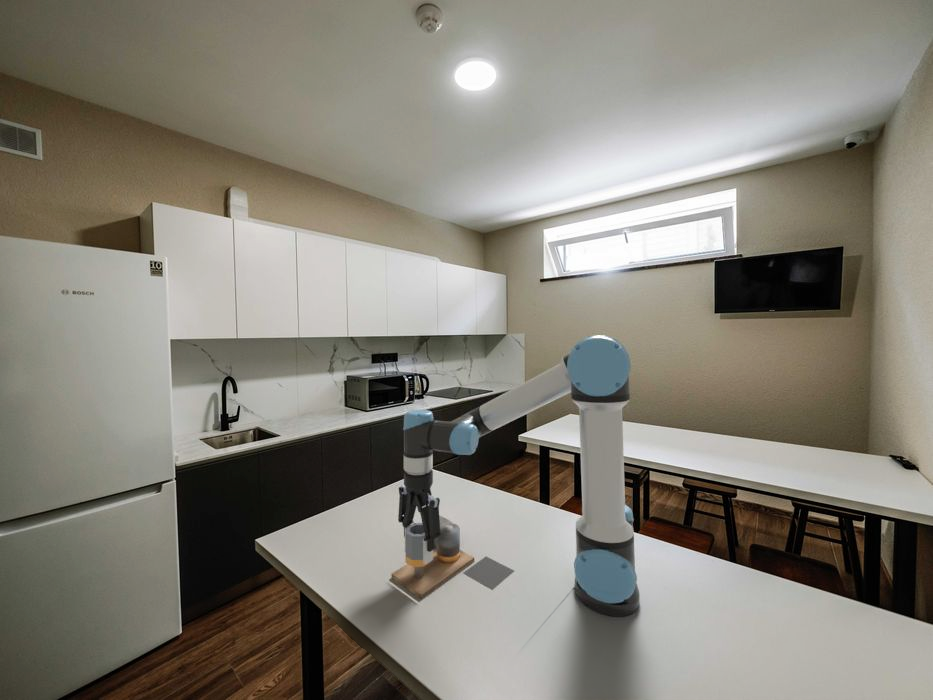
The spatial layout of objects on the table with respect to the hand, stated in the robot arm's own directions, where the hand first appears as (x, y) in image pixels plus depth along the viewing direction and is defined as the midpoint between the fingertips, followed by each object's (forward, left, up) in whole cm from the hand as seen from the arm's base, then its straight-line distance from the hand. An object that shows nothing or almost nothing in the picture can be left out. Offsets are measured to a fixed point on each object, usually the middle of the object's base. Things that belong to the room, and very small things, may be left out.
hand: (418, 555), depth 97 cm
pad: (-12, -15, -7) cm, 20 cm away
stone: (+9, -17, -7) cm, 21 cm away
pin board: (0, -6, -7) cm, 9 cm away
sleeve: (0, 0, -1) cm, 1 cm away
